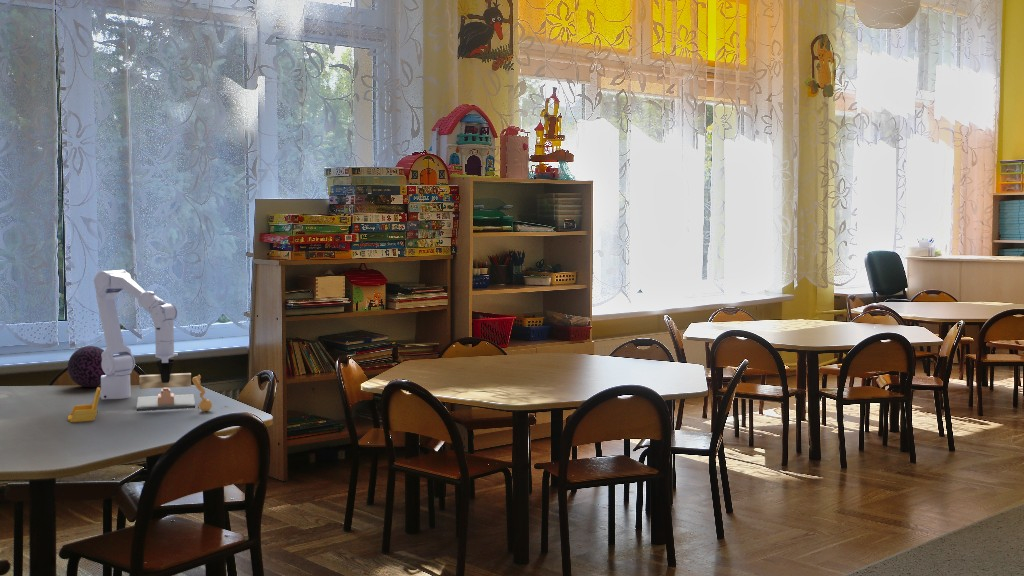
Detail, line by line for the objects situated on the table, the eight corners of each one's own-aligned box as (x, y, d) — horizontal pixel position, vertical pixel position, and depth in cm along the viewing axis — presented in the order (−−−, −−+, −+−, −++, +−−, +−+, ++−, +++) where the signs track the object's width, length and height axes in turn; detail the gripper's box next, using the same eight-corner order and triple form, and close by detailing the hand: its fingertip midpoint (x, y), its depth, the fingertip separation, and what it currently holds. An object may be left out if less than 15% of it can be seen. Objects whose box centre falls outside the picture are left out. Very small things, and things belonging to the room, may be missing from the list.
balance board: (136, 411, 327) (136, 394, 326) (138, 400, 346) (137, 384, 345) (195, 408, 333) (194, 391, 332) (193, 397, 351) (193, 381, 351)
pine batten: (139, 388, 332) (139, 376, 331) (139, 387, 335) (139, 375, 334) (191, 386, 337) (190, 374, 337) (191, 384, 340) (190, 372, 339)
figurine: (215, 413, 324) (214, 375, 324) (195, 414, 321) (195, 377, 321) (208, 408, 332) (207, 372, 331) (189, 410, 329) (189, 373, 328)
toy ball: (102, 390, 364) (101, 349, 363) (60, 390, 364) (59, 348, 363) (119, 383, 379) (118, 343, 378) (79, 383, 379) (78, 343, 378)
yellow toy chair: (68, 416, 319) (67, 387, 319) (100, 414, 323) (100, 385, 322) (67, 423, 310) (66, 393, 309) (101, 420, 313) (100, 391, 313)
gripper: (177, 342, 329) (178, 384, 330) (177, 337, 343) (178, 377, 344) (154, 343, 327) (155, 385, 328) (155, 338, 340) (155, 378, 342)
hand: (165, 381), depth 336 cm, fingers closed on pine batten, 3 cm apart
